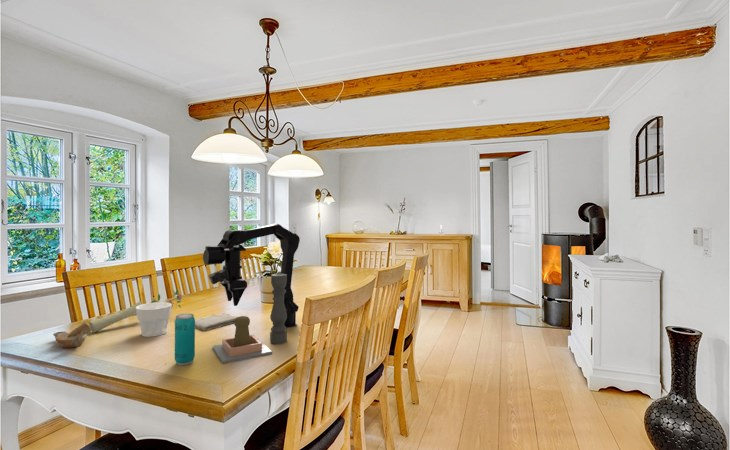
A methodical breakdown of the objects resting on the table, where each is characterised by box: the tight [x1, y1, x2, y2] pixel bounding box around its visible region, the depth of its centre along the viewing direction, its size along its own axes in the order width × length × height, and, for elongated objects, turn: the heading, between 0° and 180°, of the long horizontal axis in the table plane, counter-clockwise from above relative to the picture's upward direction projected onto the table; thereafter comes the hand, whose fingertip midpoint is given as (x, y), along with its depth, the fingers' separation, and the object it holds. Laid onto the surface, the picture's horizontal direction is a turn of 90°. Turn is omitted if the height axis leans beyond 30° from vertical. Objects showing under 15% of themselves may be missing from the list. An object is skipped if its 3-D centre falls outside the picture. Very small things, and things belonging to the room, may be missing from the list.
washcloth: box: [195, 313, 238, 332], centre depth 160 cm, size 12×18×3 cm, turn 147°
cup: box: [136, 301, 173, 338], centre depth 145 cm, size 12×12×11 cm
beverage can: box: [174, 313, 196, 366], centre depth 117 cm, size 6×6×15 cm
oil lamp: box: [52, 321, 92, 349], centre depth 131 cm, size 9×21×10 cm, turn 60°
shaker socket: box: [212, 334, 273, 364], centre depth 128 cm, size 16×16×3 cm
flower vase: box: [88, 288, 183, 334], centre depth 159 cm, size 12×12×35 cm
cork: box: [233, 315, 251, 347], centre depth 128 cm, size 6×6×11 cm
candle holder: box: [269, 273, 288, 345], centre depth 138 cm, size 6×6×25 cm
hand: (232, 303), depth 142 cm, fingers open, 9 cm apart
